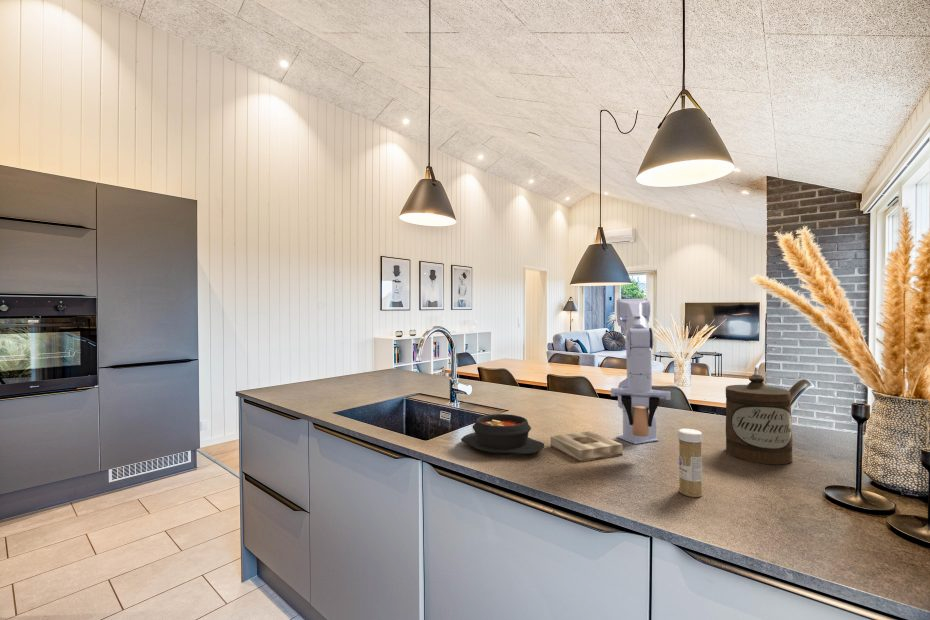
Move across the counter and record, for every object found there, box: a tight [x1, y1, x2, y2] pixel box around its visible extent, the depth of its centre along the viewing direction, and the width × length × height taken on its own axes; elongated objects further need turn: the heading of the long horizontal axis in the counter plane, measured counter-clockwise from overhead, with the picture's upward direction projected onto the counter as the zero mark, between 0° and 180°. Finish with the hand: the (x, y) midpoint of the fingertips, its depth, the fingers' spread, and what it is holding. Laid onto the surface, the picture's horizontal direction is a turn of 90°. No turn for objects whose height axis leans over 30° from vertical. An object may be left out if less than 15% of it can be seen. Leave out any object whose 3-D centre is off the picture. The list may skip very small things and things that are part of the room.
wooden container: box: [725, 373, 793, 465], centre depth 114 cm, size 15×15×22 cm
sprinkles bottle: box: [677, 428, 703, 498], centre depth 90 cm, size 5×5×14 cm
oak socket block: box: [550, 431, 624, 463], centre depth 118 cm, size 14×14×3 cm
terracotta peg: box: [632, 406, 649, 437], centre depth 110 cm, size 4×4×7 cm
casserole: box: [460, 413, 545, 455], centre depth 121 cm, size 25×19×8 cm
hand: (640, 424), depth 110 cm, fingers closed on terracotta peg, 4 cm apart
